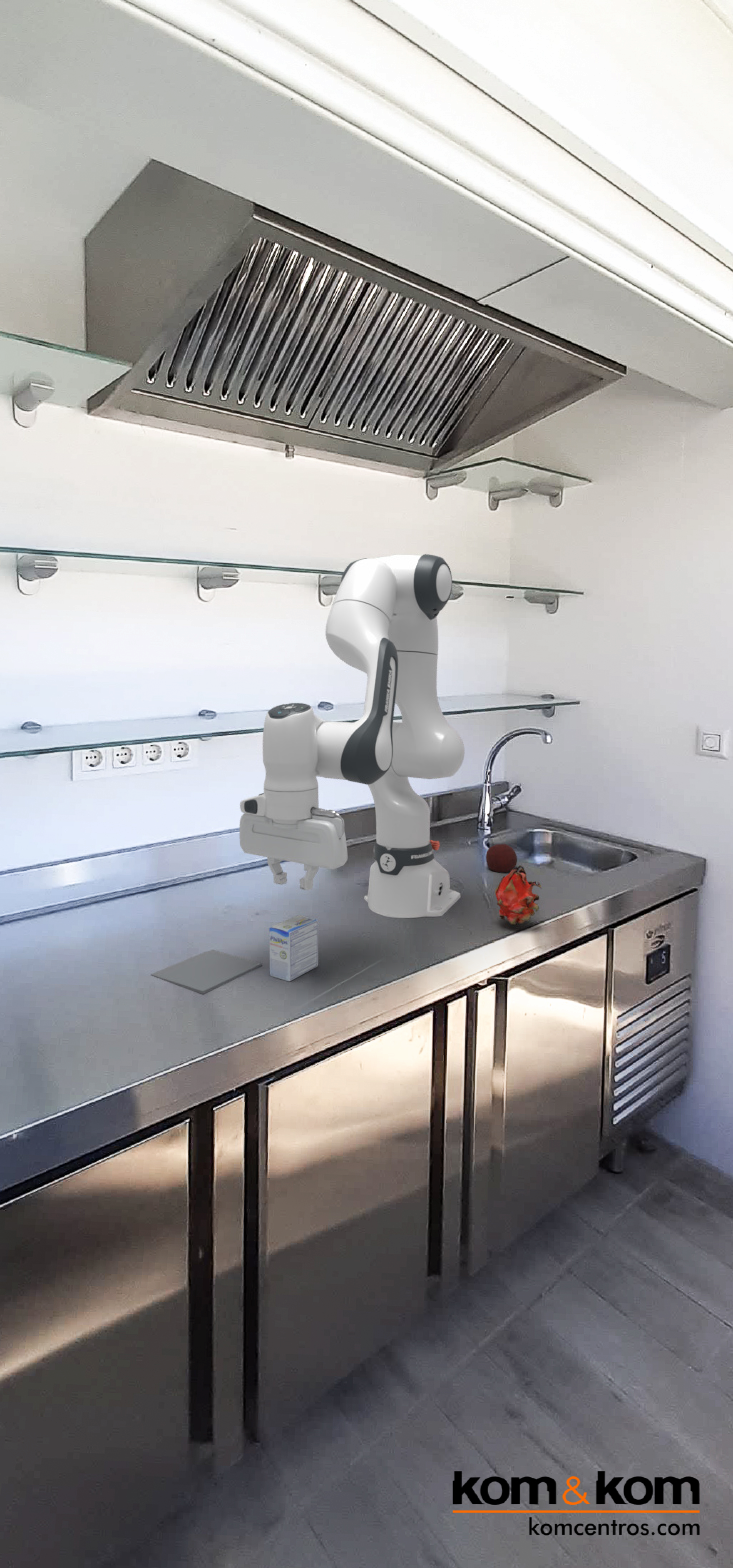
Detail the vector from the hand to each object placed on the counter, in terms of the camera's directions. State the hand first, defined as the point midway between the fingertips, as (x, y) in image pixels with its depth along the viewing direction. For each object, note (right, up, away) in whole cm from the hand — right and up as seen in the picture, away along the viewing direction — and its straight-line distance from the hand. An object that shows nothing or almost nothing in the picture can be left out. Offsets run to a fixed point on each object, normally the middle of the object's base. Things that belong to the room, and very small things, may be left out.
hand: (293, 886), depth 137 cm
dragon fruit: (+41, -11, +26) cm, 50 cm away
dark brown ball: (+45, -5, +65) cm, 79 cm away
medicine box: (0, -15, +2) cm, 15 cm away
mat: (-15, -15, +2) cm, 21 cm away
